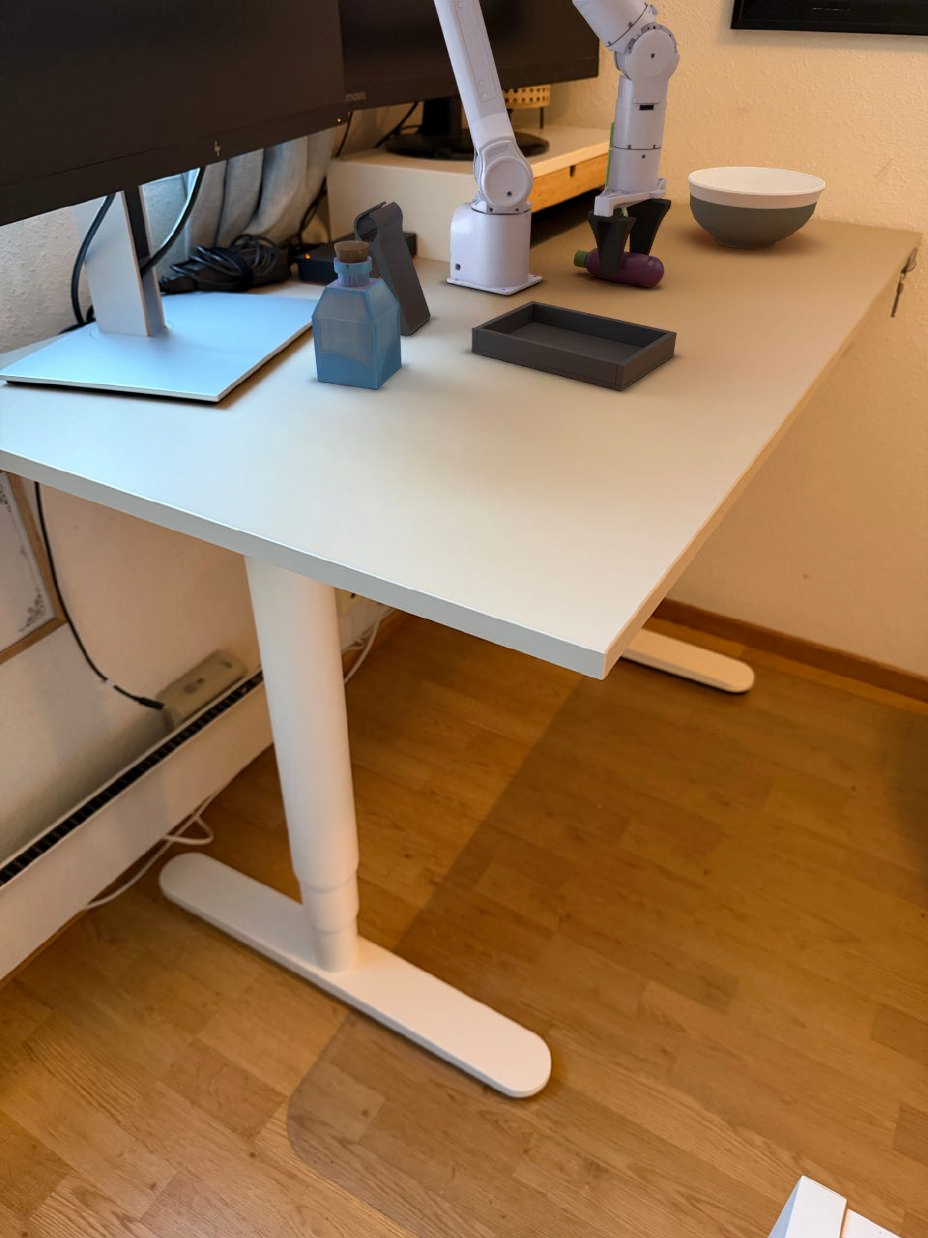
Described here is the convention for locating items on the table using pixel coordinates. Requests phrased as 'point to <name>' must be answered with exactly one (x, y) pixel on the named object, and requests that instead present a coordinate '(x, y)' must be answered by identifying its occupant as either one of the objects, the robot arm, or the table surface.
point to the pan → (575, 344)
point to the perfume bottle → (356, 323)
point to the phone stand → (393, 262)
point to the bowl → (752, 203)
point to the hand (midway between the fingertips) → (624, 267)
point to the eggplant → (624, 268)
